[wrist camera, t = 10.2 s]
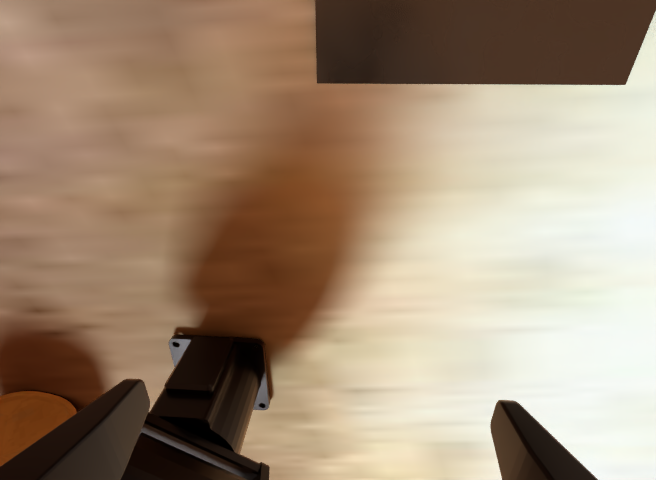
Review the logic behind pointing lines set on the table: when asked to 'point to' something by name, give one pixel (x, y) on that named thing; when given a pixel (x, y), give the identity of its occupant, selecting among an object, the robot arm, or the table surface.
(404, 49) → the dock
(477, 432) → the table surface
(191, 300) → the table surface
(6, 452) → the log
